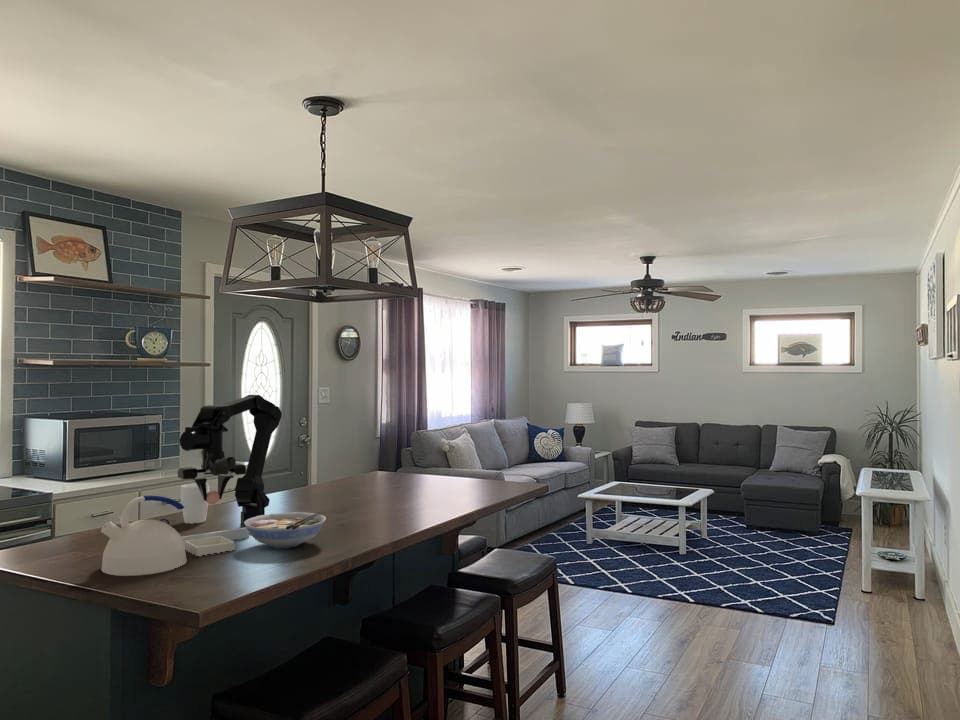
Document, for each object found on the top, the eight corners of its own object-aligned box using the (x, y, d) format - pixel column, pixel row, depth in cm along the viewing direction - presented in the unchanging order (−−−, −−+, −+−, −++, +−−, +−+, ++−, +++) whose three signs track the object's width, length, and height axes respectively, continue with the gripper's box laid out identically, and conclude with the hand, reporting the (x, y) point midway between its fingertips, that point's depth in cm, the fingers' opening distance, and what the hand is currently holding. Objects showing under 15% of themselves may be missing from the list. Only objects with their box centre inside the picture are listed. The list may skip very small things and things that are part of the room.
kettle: (88, 566, 195) (88, 496, 195) (168, 552, 209) (168, 486, 209) (116, 581, 180) (116, 506, 180) (200, 565, 195) (200, 495, 195)
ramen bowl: (267, 534, 229) (266, 507, 229) (339, 537, 226) (339, 509, 226) (226, 555, 205) (226, 525, 205) (306, 558, 201) (306, 527, 201)
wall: (247, 537, 226) (247, 527, 226) (248, 537, 225) (248, 527, 225) (178, 547, 213) (178, 537, 213) (180, 548, 213) (180, 537, 213)
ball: (216, 502, 229) (216, 489, 229) (221, 504, 226) (221, 490, 226) (203, 503, 226) (203, 490, 226) (208, 505, 223) (208, 492, 223)
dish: (220, 543, 218) (220, 535, 218) (234, 550, 210) (234, 541, 210) (183, 549, 211) (183, 541, 211) (196, 556, 203) (196, 547, 203)
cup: (174, 523, 247) (174, 486, 248) (196, 518, 255) (196, 482, 256) (193, 525, 243) (193, 488, 243) (215, 520, 251) (215, 484, 251)
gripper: (189, 452, 214) (189, 507, 214) (253, 447, 226) (253, 500, 225) (177, 448, 223) (177, 502, 222) (239, 445, 234) (239, 495, 234)
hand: (212, 500), depth 226 cm, fingers closed on ball, 4 cm apart
